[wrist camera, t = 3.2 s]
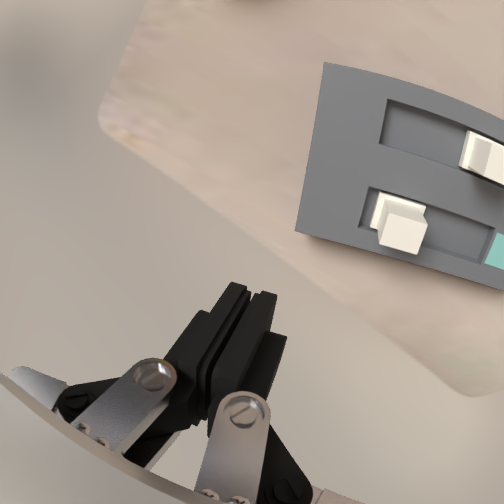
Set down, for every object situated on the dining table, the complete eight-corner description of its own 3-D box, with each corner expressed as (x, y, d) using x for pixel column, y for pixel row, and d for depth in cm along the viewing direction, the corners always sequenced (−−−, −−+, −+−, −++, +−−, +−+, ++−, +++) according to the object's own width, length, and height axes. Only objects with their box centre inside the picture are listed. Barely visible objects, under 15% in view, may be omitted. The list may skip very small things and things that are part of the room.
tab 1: (424, 203, 22) (435, 222, 19) (413, 236, 24) (421, 260, 20) (379, 190, 23) (383, 206, 20) (369, 223, 25) (371, 245, 21)
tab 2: (505, 147, 18) (529, 157, 14) (496, 180, 19) (518, 196, 15) (466, 130, 18) (487, 136, 15) (458, 165, 20) (476, 177, 16)
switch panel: (546, 147, 17) (562, 154, 14) (500, 276, 24) (510, 293, 21) (327, 66, 22) (323, 61, 19) (300, 218, 29) (294, 231, 26)
